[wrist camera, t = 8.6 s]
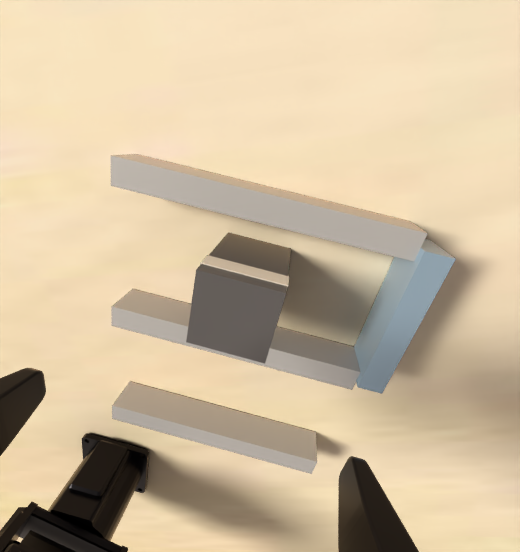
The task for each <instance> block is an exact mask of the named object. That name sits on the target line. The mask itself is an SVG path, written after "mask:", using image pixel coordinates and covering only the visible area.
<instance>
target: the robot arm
mask: <svg viewBox="0 0 520 552" xmlns="http://www.w3.org/2000/svg"><path fill="white" fill-rule="evenodd" d="M45 393H46V387H45V380H44V374H43V372H42V371H40V370H36V369H33V368H25V369H22V370H19V371H17V372H15V373H12V374H10V375H7V376H5V377H2V378H0V456H1V454H2V453H3V452H4V451H5V450H6V448H7V447H8V446H9V444H10V443H11V442H12V440H13V439H14V438H15V436H16V435H17V434H18V432H19V431H20V430H21V428H22V427H23V426H24V424H25V423H26V422H27V420H28V419H29V417H30V416H31V415H32V413H33V412H34V411H35V409H36V408H37V407H38V405H39V404H40V403H41V401H42V400H43V398H44V396H45ZM82 449H83V461H82V462H81V464H80V465H79V467H78V468H77V470H76V471H75V472H74V474H73V475H72V477H71V478H70V480H69V481H68V482H67V484H66V485H65V487H64V488H63V490H62V491H61V492H60V494H59V495H58V497H57V498H56V500H55V501H54V502H53V504H52V505H51V507H50V508H49V510H48V511H47V510H45V509H43V508H41V507H39V506H38V504H36V503H34V502H31V503H30V505H29V506H28V507H26V508H25V507H19V508H18V509H17V510H16V512H15V513H14V514H13V515H12V517H11V518H10V519H9V520H8V522H7V523H6V524H5V525H4V527H3V528H2V529H1V530H0V552H127V551H128V548H127V547H125V546H122V547H121V546H119V545H117V544H115V543H113V542H111V541H110V540H111V538H112V536H113V534H114V532H115V530H116V528H117V526H118V524H119V522H120V520H121V518H122V516H123V514H124V512H125V510H126V508H127V506H128V503H129V501H130V499H131V497H132V495H133V493H134V491H136V492H140V493H143V492H145V489H146V487H147V476H148V464H149V452H148V451H147V450H145V449H142V448H139V447H135V446H131V445H128V444H124V443H121V442H117V441H114V440H110V439H106V438H103V437H99V436H96V435H92V434H88V433H87V434H85V435H84V436H83V438H82ZM18 537H21V538H23V540H22V542H21V543H20V542H18V541H16V540H17V539H18ZM338 546H339V552H419V551H418V549H417V548H416V546H415V544H414V542H413V541H412V539H411V537H410V536H409V534H408V532H407V530H406V529H405V527H404V525H403V524H402V522H401V520H400V518H399V517H398V515H397V513H396V512H395V510H394V508H393V506H392V505H391V503H390V501H389V500H388V498H387V496H386V494H385V493H384V491H383V489H382V487H381V486H380V484H379V482H378V481H377V479H376V477H375V475H374V474H373V472H372V470H371V469H370V467H369V465H368V464H367V462H366V461H365V460H363V459H360V458H357V457H353V456H351V457H349V458H348V460H347V462H346V464H345V465H344V467H343V469H342V471H341V473H340V476H339V517H338Z"/></svg>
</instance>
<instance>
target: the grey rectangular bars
mask: <svg viewBox="0 0 520 552" xmlns="http://www.w3.org/2000/svg"><path fill="white" fill-rule="evenodd" d="M111 186H114V187H118V188H122V189H126V190H130V191H134V192H138V193H142V194H146V195H150V196H154V197H158V198H162V199H166V200H170V201H174V202H178V203H182V204H186V205H190V206H194V207H198V208H202V209H206V210H210V211H214V212H218V213H222V214H226V215H230V216H234V217H238V218H242V219H246V220H250V221H254V222H258V223H262V224H266V225H270V226H274V227H278V228H282V229H286V230H290V231H294V232H298V233H302V234H306V235H310V236H314V237H318V238H322V239H326V240H330V241H334V242H338V243H342V244H346V245H350V246H354V247H358V248H362V249H366V250H370V251H374V252H378V253H382V254H386V255H390V256H394V259H393V261H392V263H391V265H390V268H389V270H388V272H387V274H386V277H385V279H384V281H383V283H382V286H381V288H380V290H379V292H378V294H377V297H376V299H375V301H374V303H373V306H372V308H371V310H370V312H369V315H368V317H367V319H366V321H365V323H364V326H363V328H362V330H361V332H360V335H359V337H358V339H357V341H356V343H355V346H354V347H353V346H349V345H346V344H342V343H338V342H334V341H330V340H326V339H323V338H319V337H315V336H311V335H307V334H303V333H300V332H296V331H292V330H288V329H284V328H281V327H277V326H276V329H275V333H274V336H273V339H272V343H271V346H270V349H269V352H268V356H267V359H266V362H265V363H261V362H257V361H253V360H250V359H246V358H242V357H239V356H235V355H231V354H228V353H224V352H220V351H217V350H213V349H209V348H205V347H202V346H198V345H194V344H191V343H187V342H186V340H187V332H188V325H189V318H190V311H191V304H189V303H185V302H181V301H177V300H173V299H170V298H166V297H162V296H158V295H154V294H150V293H147V292H143V291H139V290H135V289H132V290H131V291H130V292H128V293H127V294H126V295H125V296H124V297H122V298H121V299H120V300H119V301H118V302H116V303H115V304H114V305H113V306H112V326H115V327H118V328H122V329H126V330H130V331H133V332H137V333H141V334H145V335H148V336H152V337H156V338H160V339H163V340H167V341H171V342H175V343H178V344H182V345H186V346H190V347H193V348H197V349H201V350H205V351H208V352H212V353H216V354H220V355H223V356H227V357H231V358H235V359H239V360H242V361H246V362H250V363H254V364H257V365H261V366H265V367H269V368H272V369H276V370H280V371H284V372H287V373H291V374H295V375H299V376H302V377H306V378H310V379H314V380H317V381H321V382H325V383H329V384H332V385H336V386H340V387H344V388H347V389H351V390H352V389H353V387H354V385H355V383H356V382H357V386H358V387H359V388H363V389H367V390H370V391H374V392H378V393H383V391H384V389H385V387H386V385H387V383H388V382H389V380H390V378H391V376H392V374H393V373H394V371H395V369H396V367H397V365H398V363H399V362H400V360H401V358H402V356H403V354H404V352H405V351H406V349H407V347H408V345H409V343H410V342H411V340H412V338H413V336H414V334H415V332H416V331H417V329H418V327H419V325H420V323H421V322H422V320H423V318H424V316H425V314H426V312H427V311H428V309H429V307H430V305H431V303H432V301H433V300H434V298H435V296H436V294H437V292H438V291H439V289H440V287H441V285H442V283H443V281H444V280H445V278H446V276H447V274H448V272H449V271H450V269H451V267H452V265H453V263H454V261H455V260H456V259H455V258H454V257H453V256H451V255H450V254H448V253H447V252H446V251H444V250H443V249H442V248H440V247H439V246H438V245H436V244H435V243H433V242H432V241H431V240H427V239H425V238H426V236H427V234H428V233H426V232H425V231H423V230H422V229H421V228H419V227H418V226H416V225H415V224H413V223H412V222H410V221H407V220H403V219H399V218H395V217H390V216H386V215H382V214H378V213H374V212H370V211H366V210H362V209H358V208H354V207H350V206H346V205H342V204H338V203H333V202H329V201H325V200H321V199H317V198H313V197H309V196H305V195H301V194H297V193H293V192H289V191H285V190H281V189H277V188H272V187H268V186H264V185H260V184H256V183H252V182H248V181H244V180H240V179H236V178H232V177H228V176H224V175H220V174H215V173H211V172H207V171H203V170H199V169H195V168H191V167H187V166H183V165H179V164H175V163H171V162H167V161H163V160H158V159H154V158H150V157H146V156H142V155H138V154H129V155H111ZM112 419H115V420H119V421H122V422H126V423H130V424H133V425H137V426H140V427H144V428H148V429H151V430H155V431H158V432H162V433H166V434H169V435H173V436H176V437H180V438H184V439H187V440H191V441H195V442H198V443H202V444H205V445H209V446H213V447H216V448H220V449H223V450H227V451H231V452H234V453H238V454H241V455H245V456H249V457H252V458H256V459H260V460H263V461H267V462H270V463H274V464H278V465H281V466H285V467H288V468H292V469H296V470H299V471H303V472H306V473H310V474H312V472H313V470H314V467H315V465H316V463H317V447H316V432H314V431H310V430H307V429H303V428H299V427H296V426H292V425H288V424H285V423H281V422H277V421H274V420H270V419H266V418H263V417H259V416H255V415H252V414H248V413H244V412H241V411H237V410H233V409H230V408H226V407H222V406H218V405H215V404H211V403H207V402H204V401H200V400H196V399H193V398H189V397H185V396H182V395H178V394H174V393H171V392H167V391H163V390H160V389H156V388H152V387H149V386H145V385H141V384H138V383H134V382H129V383H128V385H127V386H126V387H125V389H124V390H123V391H122V393H121V394H120V396H119V397H118V398H117V400H116V401H115V402H114V404H113V405H112Z"/></svg>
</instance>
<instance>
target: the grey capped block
mask: <svg viewBox="0 0 520 552" xmlns="http://www.w3.org/2000/svg"><path fill="white" fill-rule="evenodd" d="M290 255H291V249H290V248H286V247H282V246H278V245H275V244H271V243H267V242H263V241H259V240H255V239H251V238H248V237H244V236H240V235H236V234H232V233H228V234H227V235H226V236H225V237H224V238H223V239H222V241H221V242H220V243H219V244H218V245H217V246H216V247H215V249H214V250H213V251H212V252H211V253H210V254H209V255H207V256H206V257H205V258H204V259H203V260H202V261H201V263H200V266H199V267H198V268H197V270H196V276H195V283H194V290H193V297H192V304H191V311H190V318H189V325H188V332H187V340H186V342H187V343H191V344H194V345H198V346H202V347H205V348H209V349H213V350H217V351H220V352H224V353H228V354H231V355H235V356H239V357H242V358H246V359H250V360H253V361H257V362H261V363H265V362H266V359H267V356H268V352H269V349H270V346H271V343H272V339H273V336H274V333H275V329H276V326H277V323H278V319H279V316H280V313H281V309H282V306H283V303H284V299H285V296H286V292H287V289H288V285H289V276H288V273H289V264H290Z"/></svg>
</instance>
